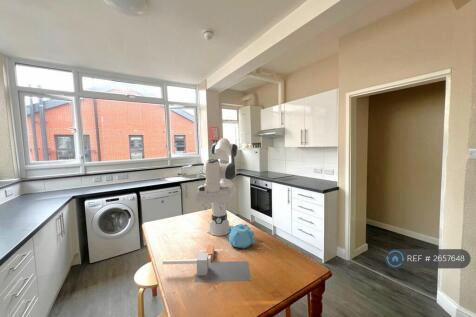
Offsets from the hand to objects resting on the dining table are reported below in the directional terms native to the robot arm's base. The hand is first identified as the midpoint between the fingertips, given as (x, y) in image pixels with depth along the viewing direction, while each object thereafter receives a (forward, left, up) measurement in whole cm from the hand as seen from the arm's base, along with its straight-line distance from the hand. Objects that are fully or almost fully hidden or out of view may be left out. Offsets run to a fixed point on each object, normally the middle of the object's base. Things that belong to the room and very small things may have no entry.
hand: (213, 209), depth 113 cm
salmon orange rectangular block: (+1, -2, -28) cm, 28 cm away
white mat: (0, -2, -28) cm, 28 cm away
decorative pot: (-13, +17, -28) cm, 36 cm away
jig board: (+16, +6, -28) cm, 33 cm away
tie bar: (+16, -12, -23) cm, 30 cm away
